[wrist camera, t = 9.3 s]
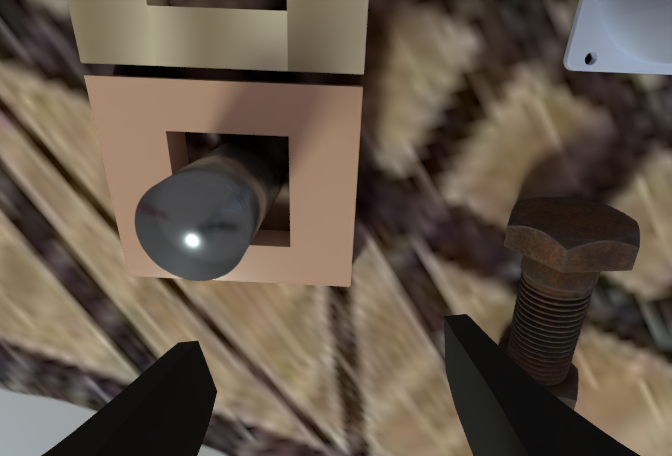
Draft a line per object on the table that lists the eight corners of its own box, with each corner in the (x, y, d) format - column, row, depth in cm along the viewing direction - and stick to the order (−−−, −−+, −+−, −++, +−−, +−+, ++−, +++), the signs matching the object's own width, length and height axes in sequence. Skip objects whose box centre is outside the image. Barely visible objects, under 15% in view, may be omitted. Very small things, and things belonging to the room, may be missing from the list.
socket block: (361, 85, 17) (363, 87, 15) (350, 268, 21) (350, 286, 19) (111, 74, 17) (84, 75, 16) (147, 258, 21) (128, 275, 20)
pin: (279, 141, 19) (243, 180, 12) (281, 214, 20) (250, 283, 14) (201, 138, 19) (124, 175, 12) (209, 211, 20) (145, 278, 14)
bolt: (488, 379, 27) (520, 188, 21) (567, 408, 25) (632, 201, 18) (469, 446, 23) (503, 230, 16) (563, 489, 20) (647, 255, 14)
